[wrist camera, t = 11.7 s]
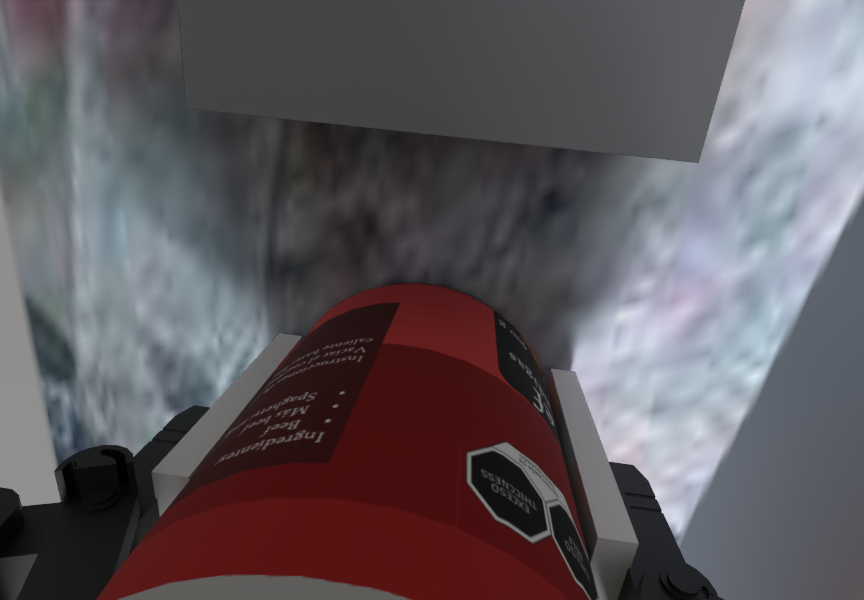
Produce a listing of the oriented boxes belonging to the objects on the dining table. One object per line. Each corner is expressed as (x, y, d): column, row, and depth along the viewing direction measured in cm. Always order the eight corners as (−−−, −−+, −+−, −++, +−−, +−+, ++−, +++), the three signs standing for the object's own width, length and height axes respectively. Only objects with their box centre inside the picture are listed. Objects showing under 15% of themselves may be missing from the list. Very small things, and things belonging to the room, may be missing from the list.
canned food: (520, 495, 17) (577, 1047, 7) (300, 458, 18) (48, 936, 7) (569, 295, 14) (784, 729, 4) (307, 256, 15) (-79, 570, 5)
